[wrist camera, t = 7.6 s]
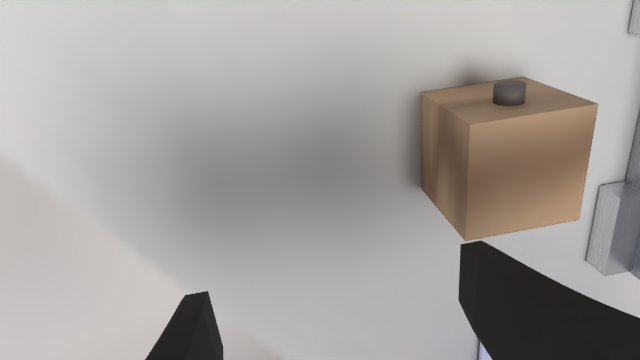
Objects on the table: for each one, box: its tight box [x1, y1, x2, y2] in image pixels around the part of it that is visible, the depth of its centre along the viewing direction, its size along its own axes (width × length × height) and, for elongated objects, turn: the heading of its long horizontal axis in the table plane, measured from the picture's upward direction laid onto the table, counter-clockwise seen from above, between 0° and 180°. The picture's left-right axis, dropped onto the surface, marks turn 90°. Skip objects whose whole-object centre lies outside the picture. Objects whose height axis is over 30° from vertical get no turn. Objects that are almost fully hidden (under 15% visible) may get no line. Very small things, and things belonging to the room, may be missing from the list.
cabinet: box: [421, 77, 598, 241], centre depth 19 cm, size 6×5×5 cm
